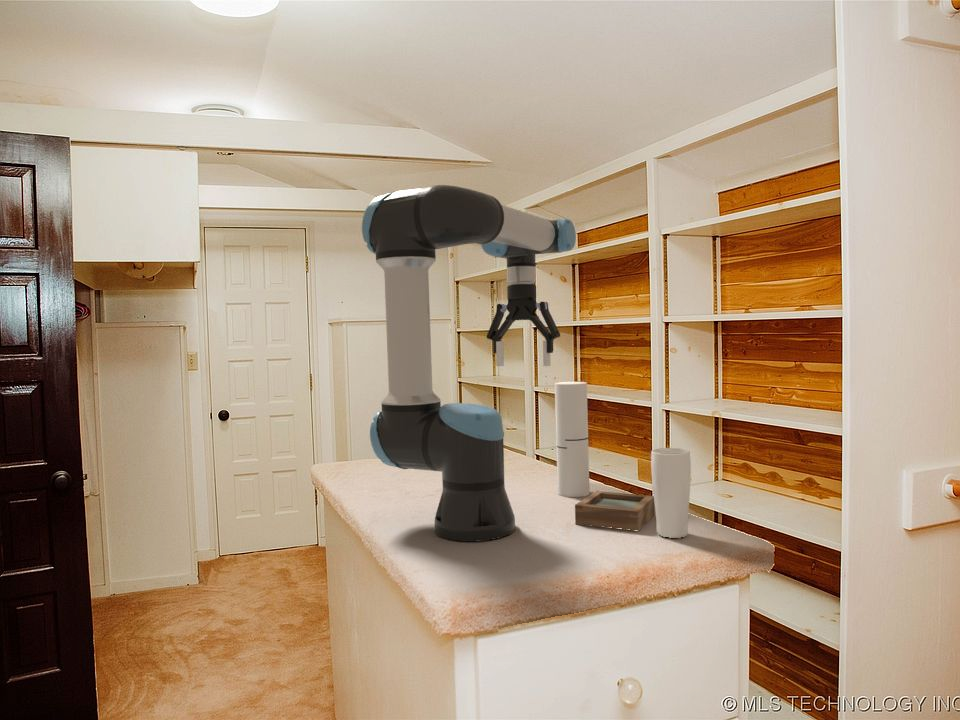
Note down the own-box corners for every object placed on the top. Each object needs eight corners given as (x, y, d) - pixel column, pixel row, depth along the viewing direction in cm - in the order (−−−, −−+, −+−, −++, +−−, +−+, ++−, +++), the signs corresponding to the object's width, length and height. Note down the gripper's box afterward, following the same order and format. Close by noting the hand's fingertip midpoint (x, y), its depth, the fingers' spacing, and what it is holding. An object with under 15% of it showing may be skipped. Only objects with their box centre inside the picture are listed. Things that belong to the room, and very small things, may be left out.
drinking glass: (665, 542, 113) (664, 455, 113) (645, 531, 120) (643, 449, 119) (700, 538, 115) (698, 452, 114) (678, 527, 122) (676, 446, 121)
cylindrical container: (586, 497, 145) (583, 384, 144) (554, 496, 147) (551, 384, 146) (591, 490, 152) (589, 381, 151) (561, 488, 154) (558, 381, 153)
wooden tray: (637, 531, 120) (637, 511, 120) (575, 524, 126) (574, 504, 125) (654, 514, 130) (654, 496, 130) (596, 508, 136) (595, 490, 136)
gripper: (572, 282, 168) (573, 365, 169) (487, 287, 181) (488, 365, 182) (560, 280, 162) (561, 366, 162) (472, 286, 174) (474, 366, 175)
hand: (523, 366), depth 172 cm, fingers open, 13 cm apart
